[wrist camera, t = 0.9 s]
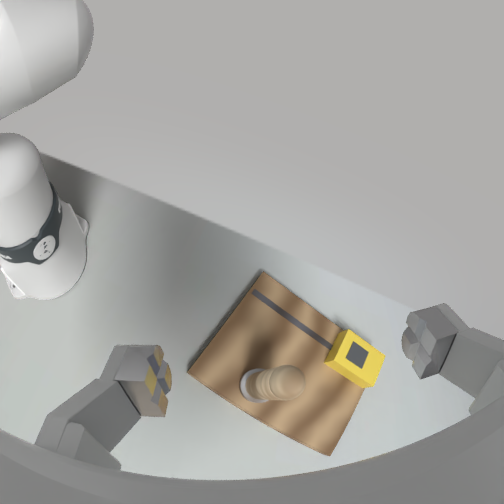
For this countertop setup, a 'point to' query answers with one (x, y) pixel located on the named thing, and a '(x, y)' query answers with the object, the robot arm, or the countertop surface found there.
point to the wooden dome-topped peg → (272, 384)
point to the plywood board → (277, 354)
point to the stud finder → (355, 359)
